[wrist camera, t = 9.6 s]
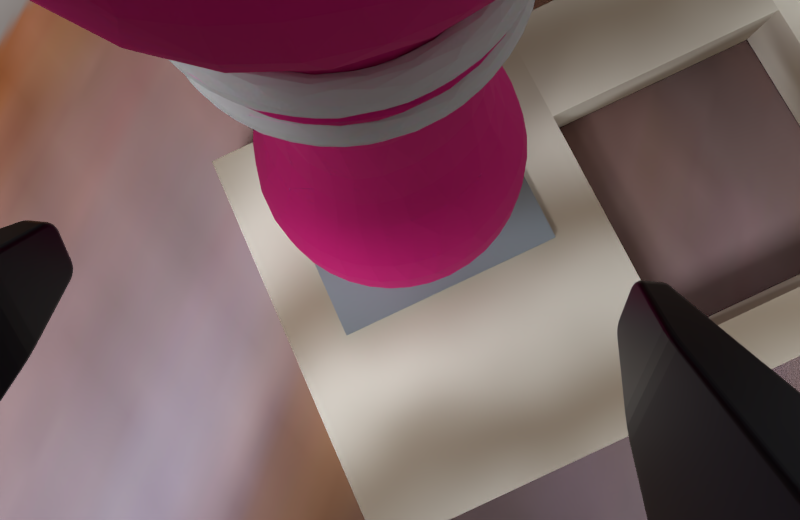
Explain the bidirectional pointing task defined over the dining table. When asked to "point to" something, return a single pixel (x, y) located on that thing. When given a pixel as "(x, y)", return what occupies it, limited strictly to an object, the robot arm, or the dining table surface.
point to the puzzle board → (511, 281)
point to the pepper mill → (355, 117)
